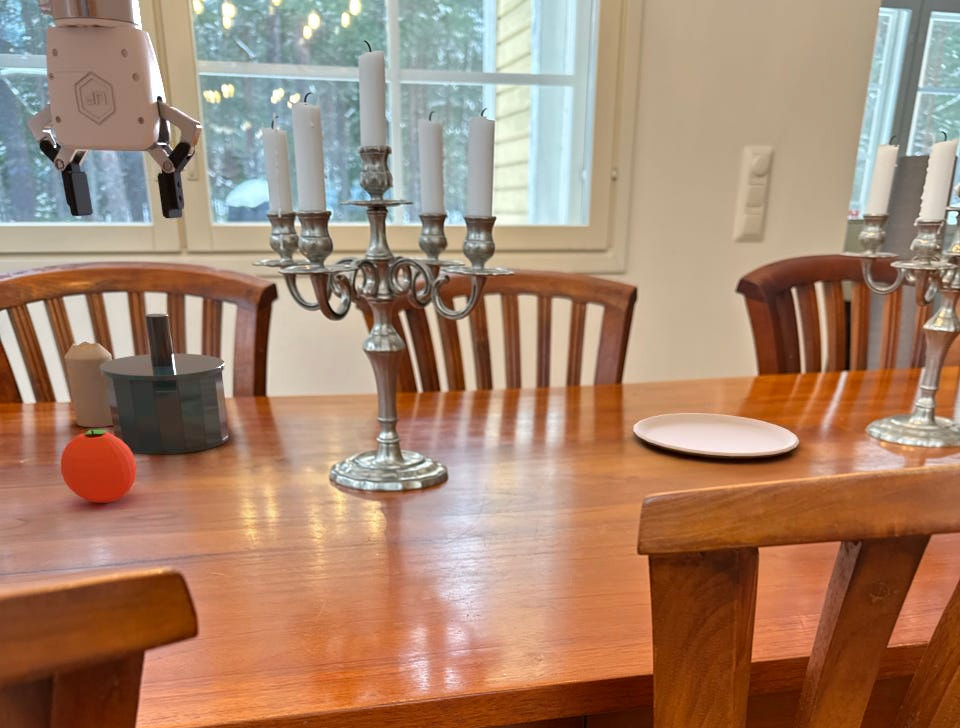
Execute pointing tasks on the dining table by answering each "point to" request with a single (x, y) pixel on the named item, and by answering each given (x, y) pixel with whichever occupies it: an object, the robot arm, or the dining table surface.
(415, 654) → the dining table surface
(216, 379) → the pot
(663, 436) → the plate
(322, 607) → the dining table surface
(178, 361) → the lid
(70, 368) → the candle
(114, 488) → the clementine
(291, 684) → the dining table surface
